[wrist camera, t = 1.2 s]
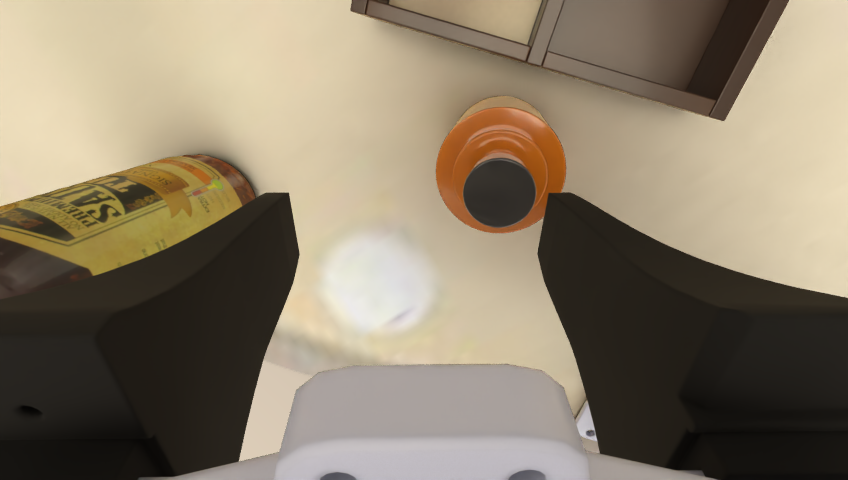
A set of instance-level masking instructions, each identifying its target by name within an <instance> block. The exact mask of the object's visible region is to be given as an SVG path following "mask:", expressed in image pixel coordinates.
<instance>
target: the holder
mask: <svg viewBox="0 0 848 480" xmlns="http://www.w3.org/2000/svg"><path fill="white" fill-rule="evenodd" d="M788 2H789V0H352V4H351V11H352V12H355V13H358V14H361V15H364V16H367V17H370V18H373V19H376V20H379V21H383V22H386V23H389V24H393V25H396V26H400V27H403V28H406V29H410V30H413V31H417V32H420V33H423V34H427V35H430V36H433V37H437V38H440V39H444V40H447V41H450V42H454V43H457V44H461V45H464V46H467V47H471V48H474V49H478V50H481V51H484V52H488V53H491V54H494V55H498V56H501V57H505V58H508V59H511V60H515V61H518V62H522V63H525V64H528V65H532V66H535V67H539V68H542V69H545V70H549V71H552V72H555V73H559V74H562V75H566V76H569V77H572V78H576V79H579V80H583V81H586V82H589V83H593V84H596V85H600V86H603V87H606V88H610V89H613V90H616V91H620V92H623V93H627V94H630V95H633V96H637V97H640V98H644V99H647V100H650V101H654V102H657V103H661V104H664V105H667V106H671V107H674V108H677V109H681V110H684V111H688V112H692V113H695V114H699V115H703V116H706V117H710V118H714V119H718V120H721V121H724V120H725V119H726V117H727V115H728V113H729V111H730V109H731V108H732V106H733V104H734V102H735V100H736V98H737V96H738V95H739V93H740V91H741V89H742V87H743V85H744V83H745V82H746V80H747V78H748V76H749V74H750V72H751V70H752V69H753V67H754V65H755V63H756V61H757V59H758V57H759V56H760V54H761V52H762V50H763V48H764V46H765V44H766V43H767V41H768V39H769V37H770V35H771V33H772V31H773V30H774V28H775V26H776V24H777V22H778V20H779V18H780V16H781V15H782V13H783V11H784V9H785V7H786V5H787V3H788Z"/></svg>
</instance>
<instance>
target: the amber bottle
mask: <svg viewBox="0 0 848 480" xmlns="http://www.w3.org/2000/svg"><path fill="white" fill-rule="evenodd" d="M565 177H566V160H565V155H564V151H563V148H562V145H561V143H560V141H559V139H558V137H557V136H556V134H555V133H554V131H553V130H552V129H551V127H550V126H549V125H548V123H547V122H546V121H545V119H544V118H543V117H542V115H541V114H540V113H539V112H538V111H537V110H536V109H535V108H534V107H533V106H532V105H530V104H529V103H527V102H525V101H523V100H521V99H518V98H515V97H510V96H495V97H490V98H487V99H484V100H482V101H479V102H477V103H476V104H474V105H473V106H471V107H470V108H469V109H468V110H467V111H466V112H465V113H464V114H463V115H462V116H461V117H460V119H459V120H458V122H457V123H456V124H455V126H454V127H453V129H452V130H451V131H450V133H449V134H448V136H447V137H446V138H445V140H444V142H443V144H442V146H441V148H440V151H439V154H438V158H437V163H436V180H437V185H438V189H439V192H440V195H441V197H442V199H443V201H444V203H445V204H446V206H447V207H448V209H449V210H450V211H451V212H452V213H453V214H454V215H455V216H456V217H457V218H458V219H459V220H460V221H462V222H463V223H465V224H467V225H468V226H470V227H472V228H475V229H477V230H480V231H484V232H489V233H509V232H514V231H519V230H521V229H524V228H527V227H529V226H531V225H533V224H534V223H536V222H537V221H539V220H540V219H542V218H543V217H544V215H545V209H546V204H547V198H548V193H561V192H562V189H563V186H564V182H565Z"/></svg>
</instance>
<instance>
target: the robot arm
mask: <svg viewBox="0 0 848 480" xmlns="http://www.w3.org/2000/svg"><path fill="white" fill-rule="evenodd" d="M538 257H539V262H540V266H541V270H542V274H543V278H544V282H545V284H546V287H547V289H548V292H549V294H550V297H551V299H552V302H553V304H554V306H555V309H556V311H557V313H558V316H559V318H560V321H561V323H562V325H563V328H564V330H565V332H566V335H567V337H568V339H569V342H570V344H571V347H572V350H573V353H574V355H575V358H576V362H577V365H578V369H579V372H580V376H581V379H582V382H583V386H584V390H585V393H586V397H587V400H586V402H585V403H584V405H583V407H582V409H581V411H580V412H579V414H578V416H577V418H576V420H575V419H574V416H573V413H572V411H571V408H570V405H569V402H568V399H567V396H566V393H565V390H564V387H562V386H561V385H560V384H559V383H557V382H556V381H555V380H554V379H552V378H551V377H550V376H549V375H547V374H546V373H545V372H544V371H542V370H537V369H532V368H526V367H521V366H516V365H510V364H433V365H353V366H347V367H342V368H337V369H332V370H327V371H322V372H319V373H317V374H316V375H315V376H313V377H312V378H311V379H310V380H308V381H307V382H306V383H304V384H303V385H302V386H301V387H299V388H298V389H297V390H296V393H295V396H294V400H293V404H292V408H291V412H290V415H289V419H288V422H287V426H286V430H285V433H284V437H283V441H282V445H281V448H280V452H278V453H273V454H269V455H265V456H260V457H256V458H252V459H248V460H244V461H239V457H240V453H241V448H242V443H243V439H244V434H245V430H246V425H247V421H248V417H249V413H250V409H251V404H252V400H253V396H254V392H255V388H256V385H257V381H258V377H259V373H260V369H261V366H262V362H263V359H264V356H265V353H266V350H267V347H268V345H269V342H270V340H271V337H272V335H273V332H274V330H275V327H276V325H277V322H278V320H279V317H280V315H281V312H282V310H283V307H284V305H285V302H286V300H287V297H288V295H289V292H290V290H291V287H292V284H293V281H294V277H295V273H296V268H297V264H298V259H299V248H298V243H297V237H296V231H295V226H294V220H293V214H292V209H291V203H290V197H289V193H265V194H263V195H261V196H259V197H257V198H255V199H253V200H252V201H250V202H248V203H247V204H245V205H243V206H242V207H240V208H238V209H237V210H235V211H234V212H232V213H230V214H229V215H227V216H225V217H224V218H222V219H221V220H219V221H217V222H216V223H214V224H212V225H210V226H208V227H207V228H205V229H203V230H201V231H199V232H198V233H196V234H194V235H192V236H190V237H189V238H187V239H185V240H183V241H181V242H179V243H177V244H175V245H173V246H170V247H168V248H166V249H164V250H161V251H159V252H157V253H155V254H152V255H150V256H148V257H145V258H143V259H140V260H137V261H135V262H132V263H129V264H126V265H124V266H121V267H118V268H115V269H112V270H110V271H107V272H104V273H101V274H98V275H95V276H91V277H88V278H85V279H81V280H78V281H74V282H71V283H67V284H63V285H60V286H56V287H52V288H48V289H44V290H40V291H36V292H31V293H26V294H22V295H17V296H12V297H8V298H3V299H0V480H848V298H845V297H840V296H835V295H830V294H825V293H820V292H815V291H810V290H805V289H800V288H796V287H791V286H787V285H783V284H779V283H775V282H772V281H768V280H764V279H760V278H756V277H753V276H750V275H746V274H743V273H739V272H736V271H733V270H730V269H727V268H724V267H721V266H718V265H715V264H712V263H709V262H706V261H704V260H701V259H698V258H696V257H693V256H691V255H688V254H686V253H684V252H681V251H679V250H677V249H674V248H672V247H670V246H667V245H665V244H663V243H661V242H659V241H657V240H655V239H653V238H651V237H649V236H647V235H645V234H643V233H641V232H639V231H637V230H635V229H634V228H632V227H630V226H628V225H626V224H625V223H623V222H621V221H620V220H618V219H616V218H614V217H613V216H611V215H609V214H608V213H606V212H604V211H603V210H601V209H599V208H598V207H596V206H594V205H593V204H591V203H589V202H588V201H586V200H584V199H582V198H581V197H579V196H577V195H575V194H572V193H548V198H547V204H546V209H545V215H544V220H543V226H542V232H541V237H540V243H539V248H538ZM588 430H593V431H590V432H589V431H588ZM580 436H581V437H584V438H587V439H590V440H593V441H596V442H598V446H599V450H600V454H598V453H594V452H589V451H585V448H584V446H583V443H582V440H581V437H580Z"/></svg>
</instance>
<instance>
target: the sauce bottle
mask: <svg viewBox="0 0 848 480" xmlns="http://www.w3.org/2000/svg"><path fill="white" fill-rule="evenodd" d="M253 199H255V194H254V192H253V190H252V189H251V187H250V185H249V183H248V181H247V180H246V178H245V177H244V176H243V175H242V174H241V173H239V171H238V170H236V169H235V168H234V167H232V166H231V165H230V164H228V163H226V162H224V161H221V160H219V159H216V158H213V157H210V156H203V155H199V154H198V155H184V156H181V157H180V156H177V157H169V158H165V159H161V160H158V161H155V162H151V163H148V164H145V165H141V166H137V167H134V168H131V169H128V170H124V171H121V172H117V173H114V174H110V175H107V176H104V177H99V178H96V179H92V180H89V181H86V182H83V183H79V184H76V185H73V186H69V187H65V188H61V189H58V190H55V191H52V192H49V193H45V194H42V195H37V196H34V197H31V198H28V199H24V200H21V201H18V202H14V203H11V204H7V205H4V206H1V207H0V299H3V298H8V297H12V296H17V295H22V294H26V293H31V292H36V291H40V290H44V289H48V288H52V287H56V286H60V285H63V284H67V283H71V282H74V281H78V280H81V279H85V278H88V277H91V276H95V275H98V274H101V273H104V272H107V271H110V270H112V269H115V268H118V267H121V266H124V265H126V264H129V263H132V262H135V261H137V260H140V259H143V258H145V257H148V256H150V255H152V254H155V253H157V252H159V251H161V250H164V249H166V248H168V247H170V246H173V245H175V244H177V243H179V242H181V241H183V240H185V239H187V238H189V237H190V236H192V235H194V234H196V233H198V232H199V231H201V230H203V229H205V228H207V227H208V226H210V225H212V224H214V223H216V222H217V221H219V220H221V219H222V218H224V217H225V216H227V215H229V214H230V213H232V212H234V211H235V210H237V209H238V208H240V207H242V206H243V205H245V204H247V203H248V202H250V201H252V200H253Z"/></svg>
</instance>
